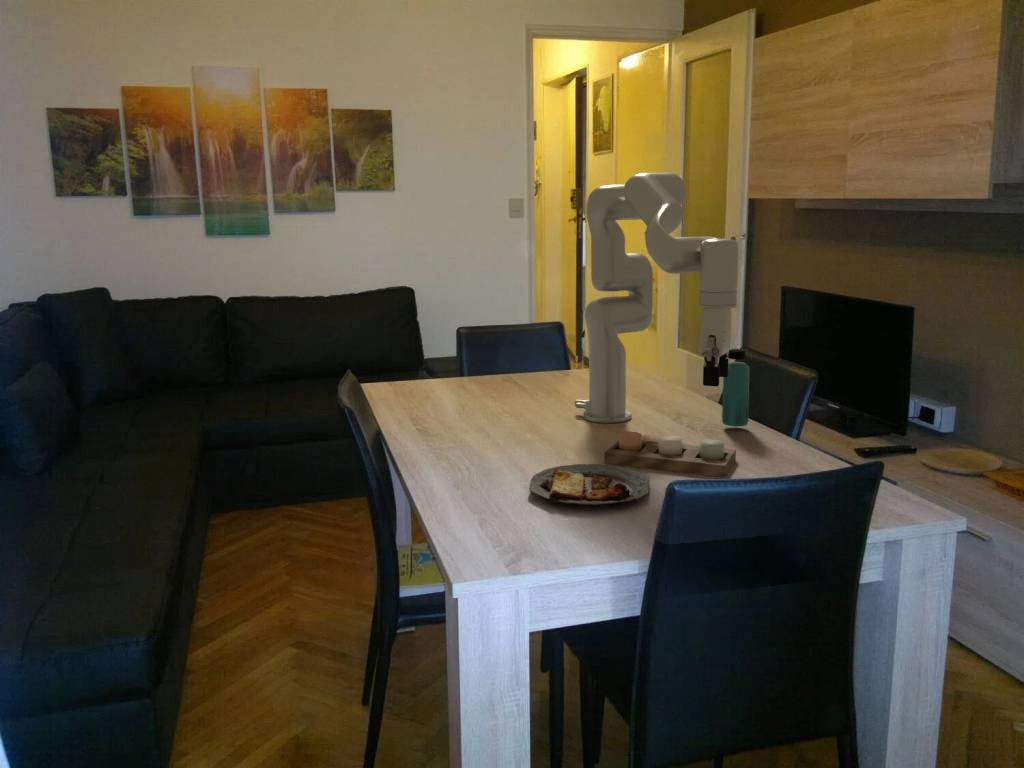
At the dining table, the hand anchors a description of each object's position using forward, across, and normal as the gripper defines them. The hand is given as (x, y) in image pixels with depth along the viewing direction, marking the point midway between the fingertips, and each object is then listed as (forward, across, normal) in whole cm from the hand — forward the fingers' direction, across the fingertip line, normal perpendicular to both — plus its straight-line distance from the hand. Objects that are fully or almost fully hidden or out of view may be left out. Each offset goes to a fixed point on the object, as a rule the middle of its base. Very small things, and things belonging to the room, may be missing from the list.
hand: (715, 381), depth 180 cm
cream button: (+17, 0, -9) cm, 19 cm away
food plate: (+19, +24, -20) cm, 37 cm away
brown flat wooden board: (+19, 0, -9) cm, 21 cm away
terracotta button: (+17, 0, -18) cm, 25 cm away
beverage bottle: (+19, -32, -1) cm, 37 cm away
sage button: (+17, 0, 0) cm, 17 cm away
